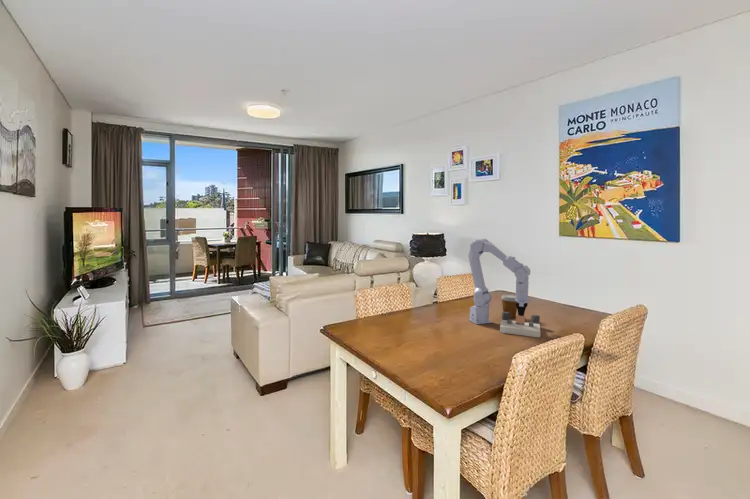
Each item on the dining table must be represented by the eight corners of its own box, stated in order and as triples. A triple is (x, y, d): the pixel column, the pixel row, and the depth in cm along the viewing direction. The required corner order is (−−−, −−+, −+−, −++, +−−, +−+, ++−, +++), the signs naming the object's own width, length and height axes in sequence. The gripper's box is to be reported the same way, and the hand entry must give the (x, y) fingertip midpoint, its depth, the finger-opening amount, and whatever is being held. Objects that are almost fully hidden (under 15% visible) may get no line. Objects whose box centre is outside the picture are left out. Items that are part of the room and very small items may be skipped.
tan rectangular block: (524, 325, 181) (524, 316, 182) (515, 324, 183) (516, 315, 183) (524, 324, 182) (524, 316, 183) (515, 323, 184) (516, 315, 184)
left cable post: (505, 325, 191) (505, 314, 190) (500, 323, 195) (500, 312, 194) (511, 324, 192) (512, 313, 191) (506, 322, 196) (507, 311, 195)
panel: (540, 337, 173) (540, 328, 173) (499, 332, 180) (500, 323, 179) (539, 329, 184) (539, 320, 184) (501, 325, 191) (501, 316, 190)
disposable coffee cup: (521, 319, 201) (522, 298, 200) (503, 319, 201) (504, 297, 200) (514, 314, 210) (515, 294, 209) (498, 314, 211) (499, 293, 209)
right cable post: (534, 328, 186) (534, 317, 185) (528, 326, 189) (529, 315, 189) (540, 328, 187) (541, 316, 186) (535, 325, 191) (535, 314, 190)
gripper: (531, 294, 174) (529, 322, 175) (530, 288, 187) (529, 314, 189) (515, 293, 176) (514, 320, 178) (515, 287, 190) (514, 312, 191)
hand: (521, 317), depth 183 cm, fingers closed, pressing on tan rectangular block
